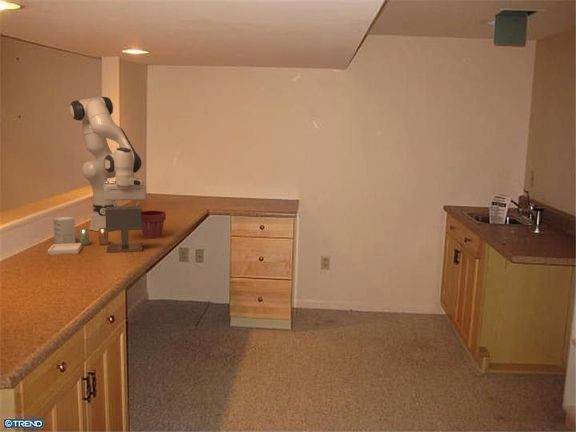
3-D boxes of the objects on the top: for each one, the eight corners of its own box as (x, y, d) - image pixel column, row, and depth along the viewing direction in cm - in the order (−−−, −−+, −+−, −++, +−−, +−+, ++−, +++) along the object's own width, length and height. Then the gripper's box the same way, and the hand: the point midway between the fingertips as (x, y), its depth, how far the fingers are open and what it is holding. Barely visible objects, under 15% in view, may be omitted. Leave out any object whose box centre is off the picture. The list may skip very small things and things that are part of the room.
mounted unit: (109, 246, 276) (107, 206, 273) (143, 245, 280) (141, 205, 276) (106, 252, 265) (104, 210, 261) (142, 251, 268) (140, 209, 265)
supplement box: (68, 240, 289) (66, 216, 286) (76, 242, 284) (74, 217, 282) (54, 243, 283) (52, 218, 281) (62, 245, 278) (60, 219, 276)
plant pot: (159, 240, 292) (158, 215, 290) (133, 238, 295) (133, 214, 293) (170, 234, 306) (169, 211, 304) (146, 233, 309) (145, 209, 307)
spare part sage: (80, 244, 281) (79, 228, 280) (90, 243, 282) (89, 228, 281) (79, 246, 277) (78, 230, 276) (88, 245, 278) (88, 229, 277)
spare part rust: (99, 243, 283) (98, 227, 282) (109, 243, 284) (108, 227, 283) (98, 245, 279) (97, 229, 278) (108, 245, 280) (107, 229, 278)
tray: (53, 248, 272) (52, 244, 271) (82, 247, 274) (81, 243, 274) (47, 255, 259) (47, 250, 259) (77, 254, 262) (77, 249, 261)
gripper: (102, 182, 275) (103, 210, 278) (145, 181, 279) (146, 209, 282) (103, 180, 281) (104, 208, 284) (146, 180, 285) (147, 207, 288)
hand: (126, 209), depth 283 cm, fingers open, 8 cm apart
